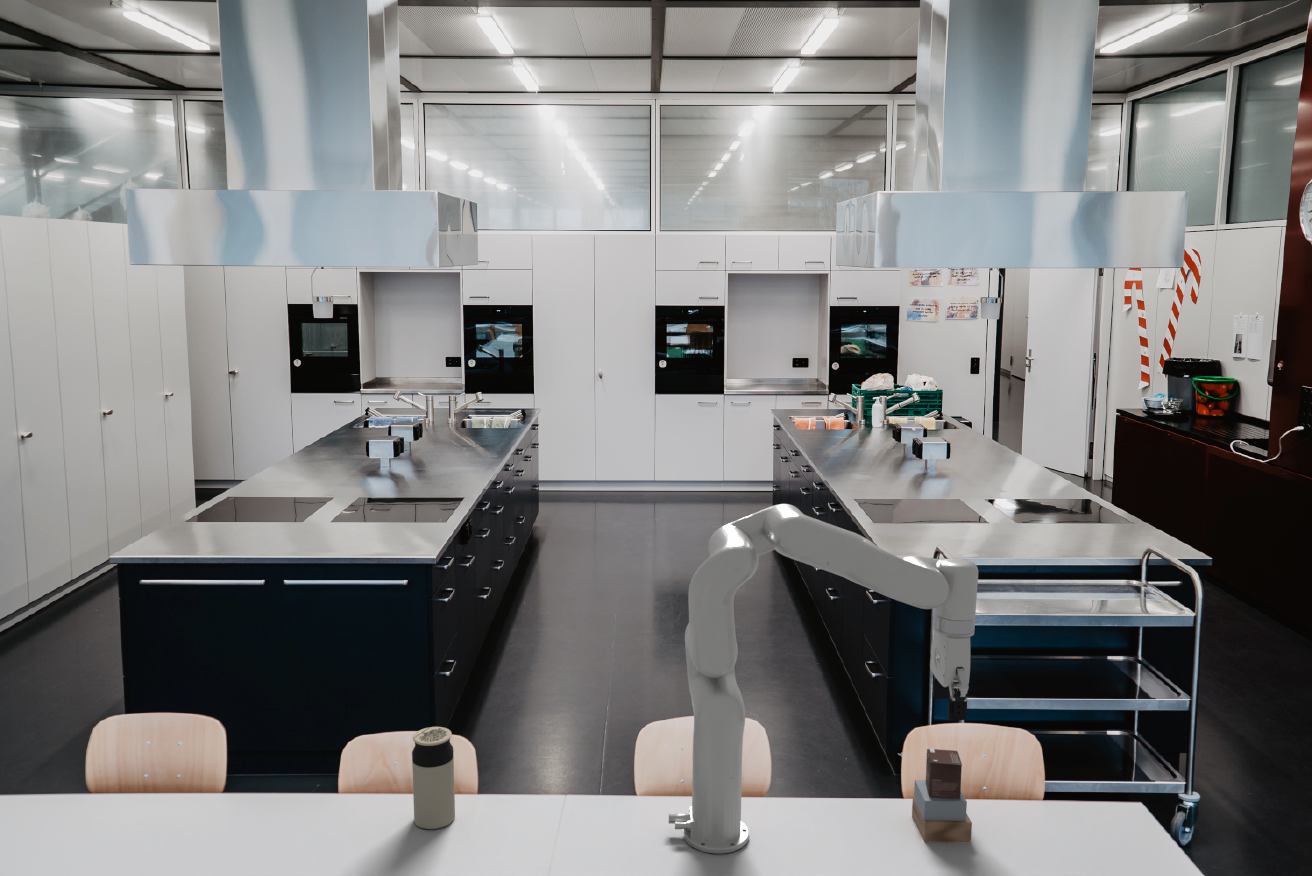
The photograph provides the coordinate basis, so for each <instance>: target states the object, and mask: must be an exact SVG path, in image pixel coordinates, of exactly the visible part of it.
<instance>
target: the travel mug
mask: <svg viewBox="0 0 1312 876" xmlns="http://www.w3.org/2000/svg"><path fill="white" fill-rule="evenodd" d="M452 736H453V735H452V731H451V730H450V729H449V728H447V727H442V726H431V727H430V726H429V727H425V728H422V729H420V730H418V731H416V732H415V733H414V734H413V735H412V741H413V742H414V747H413V749H412V751H411V758H412V760H411V761H412V763H411V765H412V789H413V790H412V792H413V797H412V798H413V819H414V823H415V824H414V825H416V826H417V827H419V828H422V829H425V830H427V829H428V830H436V829H440V828H444V827H447V826H448V825H450V824H451V823H452V822H453V821H454V820H455V818H456V803H455V802H456V799H455V798H456V796H455V794H456V793H455V765H454V763H455V761H454V759H455V757H454V746H453V745H452V743H451V738H452Z"/></svg>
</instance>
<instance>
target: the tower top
mask: <svg viewBox="0 0 1312 876" xmlns="http://www.w3.org/2000/svg"><path fill="white" fill-rule="evenodd" d="M913 792H914V793H913V794H914V795H913V798H914V799H915V802H916V804H917V806H918V808H919V810H920V813H921V815H922V817H923V819H924V820H942V821H966V813H967V804H968V802H967V800H966V798H965V796H964V794H963V793H962V791H961V792H960V799H949V798H936V797H929V795H928V791H927V786H926V779H914V791H913Z"/></svg>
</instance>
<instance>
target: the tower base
mask: <svg viewBox="0 0 1312 876" xmlns="http://www.w3.org/2000/svg"><path fill="white" fill-rule="evenodd" d="M911 805H912V806H911V807H912V808H911V818H912V820H913V823H914V824H915V826H916V829H917V831H918V832H919V834H920V837H921V839H922V840H923V841H922V842H924V843H971V842H972V828H973V827H972V825H973V822H972V820H971V819H970V817H969V815H968V814H967V812H966V821H942V820H924V819H923V817H922V815H921V813H920V810H919V808H918V806H917V804H916V802H915V799H914V797H912V803H911Z"/></svg>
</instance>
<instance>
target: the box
mask: <svg viewBox="0 0 1312 876" xmlns="http://www.w3.org/2000/svg"><path fill="white" fill-rule="evenodd" d="M925 762H926V763H925V764H926V768H925V780H926V786H927V791H928V795H929V797H936V798H949V799H960V792H962V789H961V787H962V766H963V764H962V763H963V762H962V760H961V758H960V755H959V752H958V750H951V749H937V748H927V749H926V761H925Z"/></svg>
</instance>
